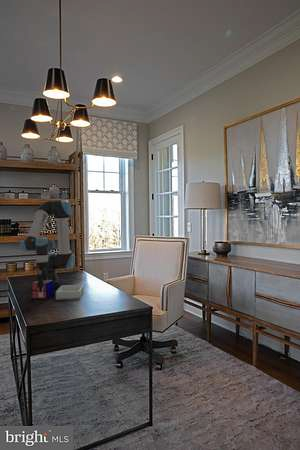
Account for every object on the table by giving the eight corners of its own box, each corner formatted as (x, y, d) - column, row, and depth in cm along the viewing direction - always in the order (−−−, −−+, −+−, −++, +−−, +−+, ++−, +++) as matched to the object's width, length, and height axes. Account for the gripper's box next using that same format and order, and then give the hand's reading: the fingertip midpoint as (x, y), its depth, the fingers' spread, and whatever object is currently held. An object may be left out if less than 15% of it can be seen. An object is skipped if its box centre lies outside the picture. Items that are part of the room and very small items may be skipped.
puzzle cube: (46, 298, 211) (46, 283, 211) (32, 298, 213) (31, 282, 213) (54, 295, 221) (53, 280, 221) (40, 294, 223) (39, 279, 223)
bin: (61, 292, 227) (61, 285, 227) (83, 291, 229) (83, 284, 228) (55, 299, 208) (55, 291, 208) (80, 298, 210) (79, 291, 209)
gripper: (40, 259, 228) (41, 290, 229) (31, 264, 204) (32, 299, 205) (52, 258, 228) (53, 290, 229) (43, 264, 205) (44, 299, 206)
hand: (43, 294), depth 217 cm, fingers closed on puzzle cube, 11 cm apart
